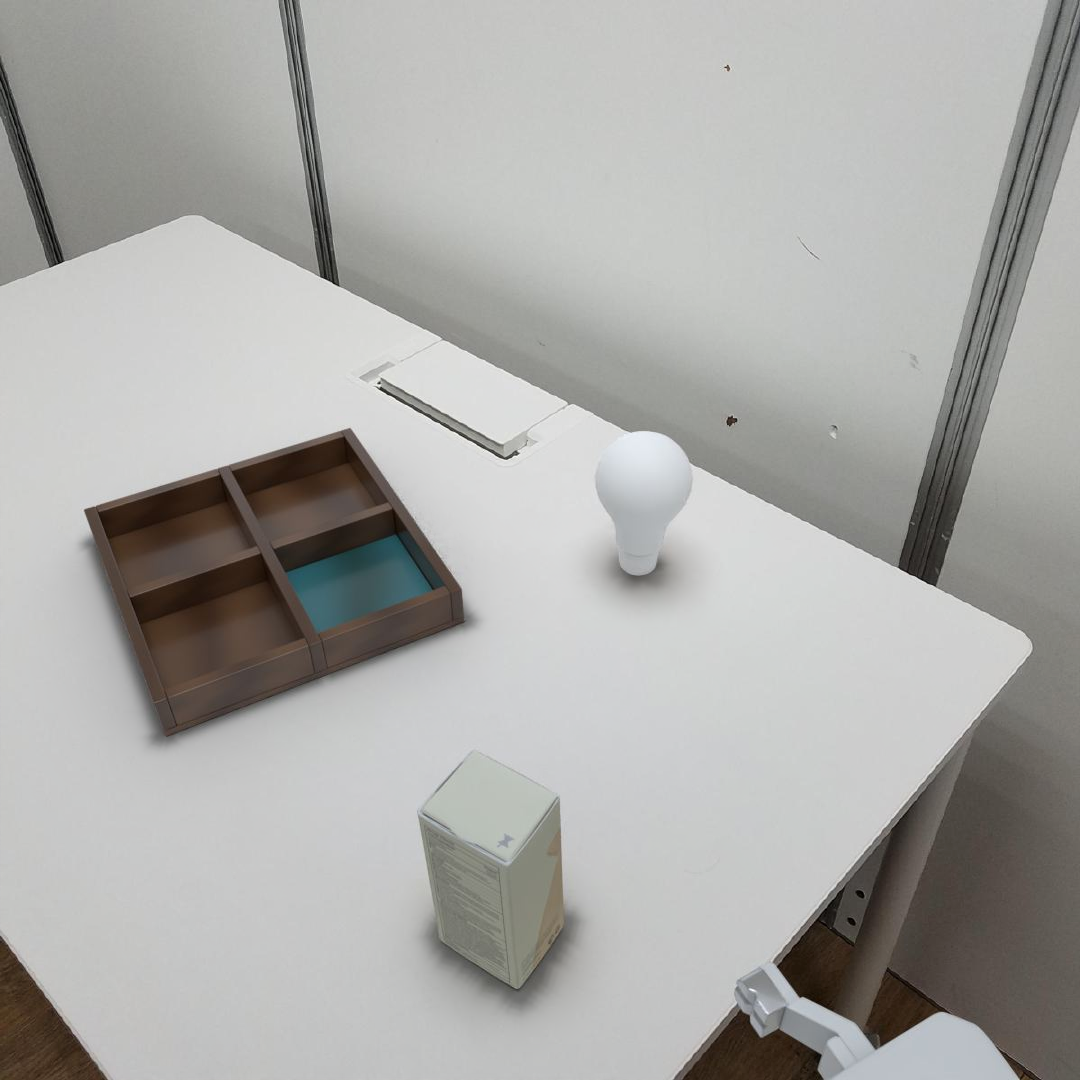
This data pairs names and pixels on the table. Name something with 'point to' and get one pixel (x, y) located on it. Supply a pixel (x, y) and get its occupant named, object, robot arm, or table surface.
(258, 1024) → the table surface
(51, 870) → the table surface
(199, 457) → the table surface
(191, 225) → the table surface
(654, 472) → the lightbulb
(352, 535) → the grid
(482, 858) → the box
